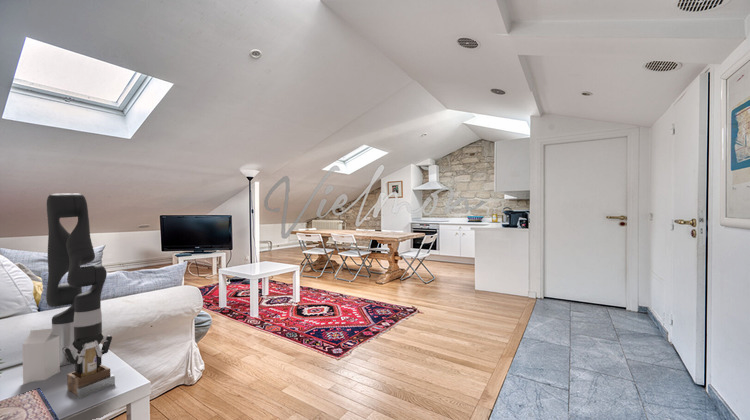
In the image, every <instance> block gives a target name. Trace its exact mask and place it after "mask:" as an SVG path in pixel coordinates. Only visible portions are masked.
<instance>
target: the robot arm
mask: <svg viewBox="0 0 750 420" xmlns="http://www.w3.org/2000/svg"><path fill="white" fill-rule="evenodd" d="M46 215H47V226H48V227H47V229H48V231H47V232H48V235H47V236H48V237H47V238H48V239H47V270H48V275H47V285H46V294H45V297H46V299H45V300H46V304H47V306H49V307H50V308H57V307H63V306H70V307H68V308H67V309H65V310H63V311H61V312H59V313H56V314H55V315H53V316H52V317H51V329H52V332H54V333H56V334H57V335H59V353H60V366H67V365H73V364H74V372H76V373H78V374H81V373H82V363H81V362H82V359H83V357H84V355H85V352H86V351H85V350H86V349H85V348H86V345H87V344H88V343H89V342H95V345H96V346H95V349H96V357H97V368H99V367H100V365H103V364H102V356H103V355H105V354H107V353H108V352H109V350H110V346H111V343H112V339H113V337H112V335H109V334H107V335H103V334H102V333H103V320H102V318H103V316H102V315H103V314H102V308H101V307H102V306H101V302H102V301H101V297H102V291H103V288H104V285H105V282H106V280H107V276H108V275H107V274H108V273H107V268H105V266H103V265H100V264H95V265H87V264H90V263H92V262H93V261H94V260H95V259H96V253H95V248H94V246H93V243H92V238H91V232H90V231H91V229H90V218H89V209H88V203H87V198H86V197H85V195H84V194H82V193H73V192H72V193H51V194H49V195H48V197H47V199H46ZM61 218H63V219H64V218H65V219H66V218H67V219H68V218H77V223H76V225H75V226H74V228H73V230H72V231H71V232H69V231H67V230H66V228H65V227H64V225H63V224H62V223H61V222H60V221H61V220H60V219H61ZM83 265H87V266H83ZM66 274H67V276H66V277H67V278H66V281H67V282H65V283H60V282H61V280H62V279H63V278H64V277H65V275H66ZM83 287H90V288H89V290H87V291H84V292H82V291H83V290H82V289H83ZM102 342H103V343H102ZM101 343H102V346H101V348H100V344H101ZM82 345H83V347H82ZM80 352H81V353H80Z"/></svg>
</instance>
